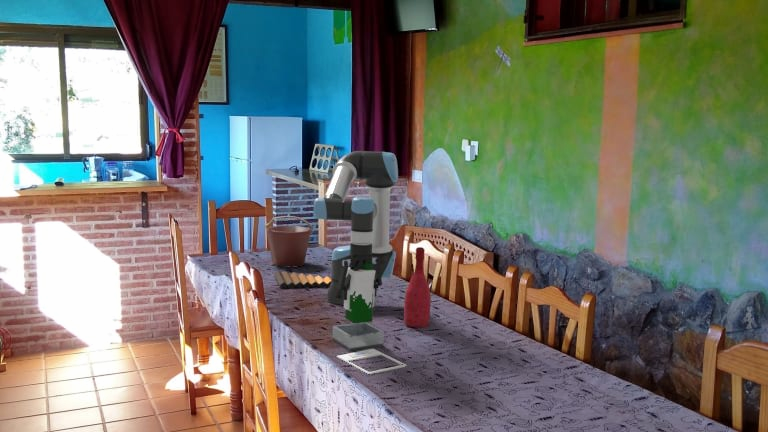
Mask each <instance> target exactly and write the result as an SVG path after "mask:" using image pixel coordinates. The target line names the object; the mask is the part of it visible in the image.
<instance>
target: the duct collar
mask: <svg viewBox="0 0 768 432" xmlns="http://www.w3.org/2000/svg"><path fill="white" fill-rule="evenodd" d="M384 338H385V332H384V331H383V330H382V329H379V328H378V327H375V326H373V325H372V324H370V323H369V322H364V323H355V324H354V323H348V324H347V323H346V324H339V325H333V326H332V342H335V343H336V344H338V345H340V347H341V346H342V347H343V348H344V349H346V350H348V351H349V352H356V351H363V350H369V349H375V348H381V347H384V343H385V342H384V340H385V339H384Z"/></svg>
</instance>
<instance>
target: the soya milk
mask: <svg viewBox="0 0 768 432" xmlns="http://www.w3.org/2000/svg"><path fill="white" fill-rule="evenodd" d="M353 270H354V269H353ZM353 270H351V269H350V268H348V271H347V275H348V273H349V274H350V275H351V280H350V287H349V289H348V290H349V291H350V307H349V310H346V309H345V316H344V317H345V319H346V320H348V321H349V322H350V323H351V324H353V323H354V324H355V323H364V322H366V323H372V322H373V308H374V307H373V285H374V279H375V278H374V277H375V272H376V271H375V270H374V269H372V263H369V264H367V266H366V264H363V269H359V270H358V271H353ZM347 275H346V277H347Z"/></svg>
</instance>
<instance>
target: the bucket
mask: <svg viewBox="0 0 768 432" xmlns="http://www.w3.org/2000/svg"><path fill="white" fill-rule="evenodd" d="M287 218H289V219H296V220H299V221H301V222H303V223H305V224H307V225H308V227H305V226H299V225H276V226H271V225H272V224H273V222H274V220H278V219H287ZM269 226H270V227H269ZM264 228H265V230H266V235H267V242H268V247H269V252H270V258H271V264H272V263H273V265H274V264H275V265H274V266H276V265H277V266H290V267H293V266H300V267H302V266H301V265H304V266H305V262H306V256H307V251H308V248H309V242H310V239H311V238H310V237H311V233H312V231H313V230H314V227H313V225H312V224H311V223H310V222H309V221H307V220H305V219H303V218H302V217H298V216H294V215H293V216H292V215H284V216H283V215H282V216H276V217H272V219H271V220H270V221H269V222H267V223H265V224H264ZM277 266H276V267H277ZM290 267H289V268H290ZM293 268H294V267H293Z"/></svg>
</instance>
